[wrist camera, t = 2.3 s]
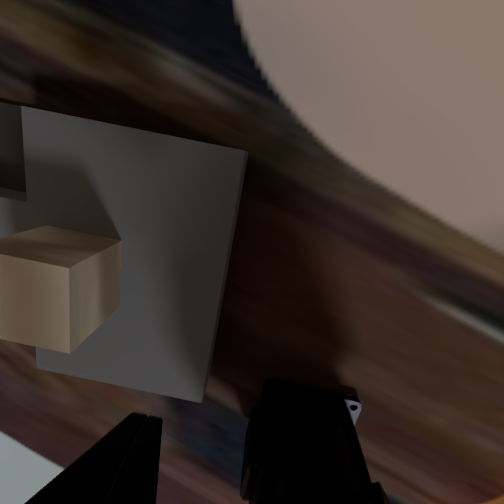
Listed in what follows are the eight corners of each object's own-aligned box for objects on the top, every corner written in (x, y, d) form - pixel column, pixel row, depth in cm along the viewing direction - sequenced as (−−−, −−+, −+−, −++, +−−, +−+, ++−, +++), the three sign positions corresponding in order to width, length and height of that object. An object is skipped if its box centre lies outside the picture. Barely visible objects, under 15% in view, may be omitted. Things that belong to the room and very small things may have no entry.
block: (121, 240, 15) (68, 268, 11) (118, 307, 16) (69, 353, 12) (46, 225, 15) (-33, 247, 11) (49, 293, 16) (-21, 334, 12)
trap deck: (248, 152, 15) (245, 150, 13) (208, 379, 19) (201, 402, 18) (-122, 77, 15) (-179, 65, 13) (-74, 320, 20) (-111, 337, 18)
